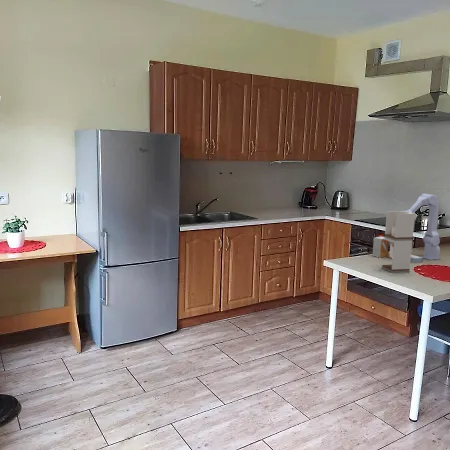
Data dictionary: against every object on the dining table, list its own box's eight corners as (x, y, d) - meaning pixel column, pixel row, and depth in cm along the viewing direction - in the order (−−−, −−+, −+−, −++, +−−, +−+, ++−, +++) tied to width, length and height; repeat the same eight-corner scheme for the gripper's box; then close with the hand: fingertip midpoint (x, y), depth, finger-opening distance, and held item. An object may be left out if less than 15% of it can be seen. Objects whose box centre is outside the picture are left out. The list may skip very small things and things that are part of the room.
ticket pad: (407, 257, 294) (407, 253, 293) (422, 262, 282) (422, 257, 281) (399, 258, 291) (399, 253, 291) (414, 263, 279) (414, 258, 279)
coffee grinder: (398, 267, 267) (403, 211, 261) (409, 272, 257) (415, 213, 251) (381, 268, 264) (386, 211, 259) (392, 272, 254) (397, 213, 248)
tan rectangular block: (390, 255, 298) (391, 251, 297) (398, 258, 291) (398, 253, 291) (386, 256, 296) (386, 251, 296) (393, 258, 290) (394, 254, 289)
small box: (379, 258, 291) (381, 239, 289) (372, 256, 296) (373, 237, 294) (387, 256, 295) (389, 238, 293) (379, 254, 300) (381, 236, 298)
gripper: (385, 235, 292) (383, 254, 294) (401, 239, 279) (399, 259, 281) (393, 234, 295) (392, 254, 297) (410, 238, 281) (408, 259, 284)
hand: (396, 256), depth 289 cm, fingers closed
